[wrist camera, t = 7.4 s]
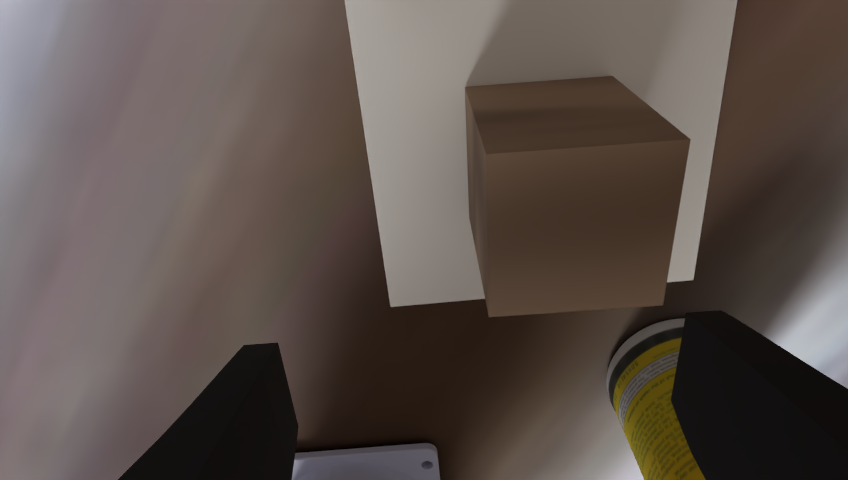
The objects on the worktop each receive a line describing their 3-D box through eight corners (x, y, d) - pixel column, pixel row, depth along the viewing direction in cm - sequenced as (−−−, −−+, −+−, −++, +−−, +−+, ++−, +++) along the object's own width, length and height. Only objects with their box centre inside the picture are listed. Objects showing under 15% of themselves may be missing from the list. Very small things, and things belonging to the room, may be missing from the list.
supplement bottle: (584, 405, 25) (675, 658, 16) (633, 302, 22) (772, 539, 14) (703, 423, 26) (849, 676, 17) (764, 325, 23) (972, 565, 15)
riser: (659, 236, 22) (693, 280, 19) (392, 260, 22) (390, 306, 19) (694, -66, 17) (747, -62, 14) (352, -29, 17) (341, -20, 14)
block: (600, 208, 18) (662, 305, 13) (468, 217, 18) (489, 317, 13) (612, 75, 16) (691, 139, 11) (464, 86, 16) (486, 154, 11)
